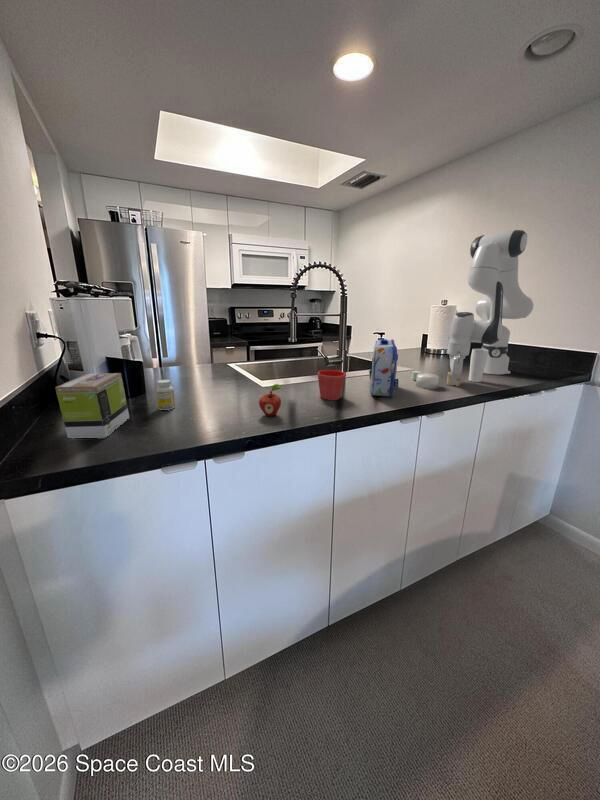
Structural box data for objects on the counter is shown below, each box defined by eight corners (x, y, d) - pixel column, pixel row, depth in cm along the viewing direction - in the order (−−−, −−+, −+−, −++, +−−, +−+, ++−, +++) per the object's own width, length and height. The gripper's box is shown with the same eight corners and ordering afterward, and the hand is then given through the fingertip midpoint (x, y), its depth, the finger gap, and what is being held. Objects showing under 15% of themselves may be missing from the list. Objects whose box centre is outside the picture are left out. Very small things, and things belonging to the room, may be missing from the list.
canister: (416, 383, 146) (417, 372, 144) (437, 385, 143) (438, 374, 141) (415, 387, 138) (416, 376, 137) (437, 390, 135) (439, 378, 133)
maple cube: (446, 382, 147) (448, 371, 146) (458, 383, 146) (460, 372, 144) (446, 384, 143) (448, 374, 142) (459, 386, 141) (461, 375, 140)
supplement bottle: (167, 412, 104) (163, 383, 101) (154, 409, 106) (151, 382, 103) (178, 407, 109) (175, 380, 106) (166, 405, 111) (163, 378, 108)
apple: (272, 420, 98) (271, 389, 95) (255, 416, 101) (254, 386, 98) (286, 413, 104) (286, 384, 101) (269, 409, 108) (269, 381, 105)
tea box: (96, 419, 97) (87, 372, 93) (130, 418, 98) (123, 372, 93) (66, 440, 83) (53, 385, 78) (106, 439, 84) (96, 385, 79)
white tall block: (478, 379, 153) (484, 348, 149) (485, 383, 147) (491, 350, 142) (464, 379, 154) (469, 348, 150) (470, 382, 148) (476, 350, 143)
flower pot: (347, 395, 125) (349, 371, 122) (339, 403, 116) (340, 377, 113) (322, 392, 129) (323, 368, 126) (312, 399, 120) (313, 374, 117)
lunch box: (397, 402, 118) (404, 342, 111) (369, 400, 120) (374, 341, 113) (392, 384, 143) (397, 334, 137) (369, 382, 145) (373, 334, 139)
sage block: (410, 378, 154) (411, 370, 153) (418, 379, 154) (419, 370, 153) (412, 380, 150) (414, 372, 149) (421, 381, 150) (422, 372, 149)
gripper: (468, 354, 129) (462, 386, 134) (464, 347, 147) (459, 376, 152) (451, 353, 132) (446, 385, 136) (449, 347, 150) (445, 375, 154)
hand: (453, 380), depth 144 cm, fingers closed on maple cube, 5 cm apart
